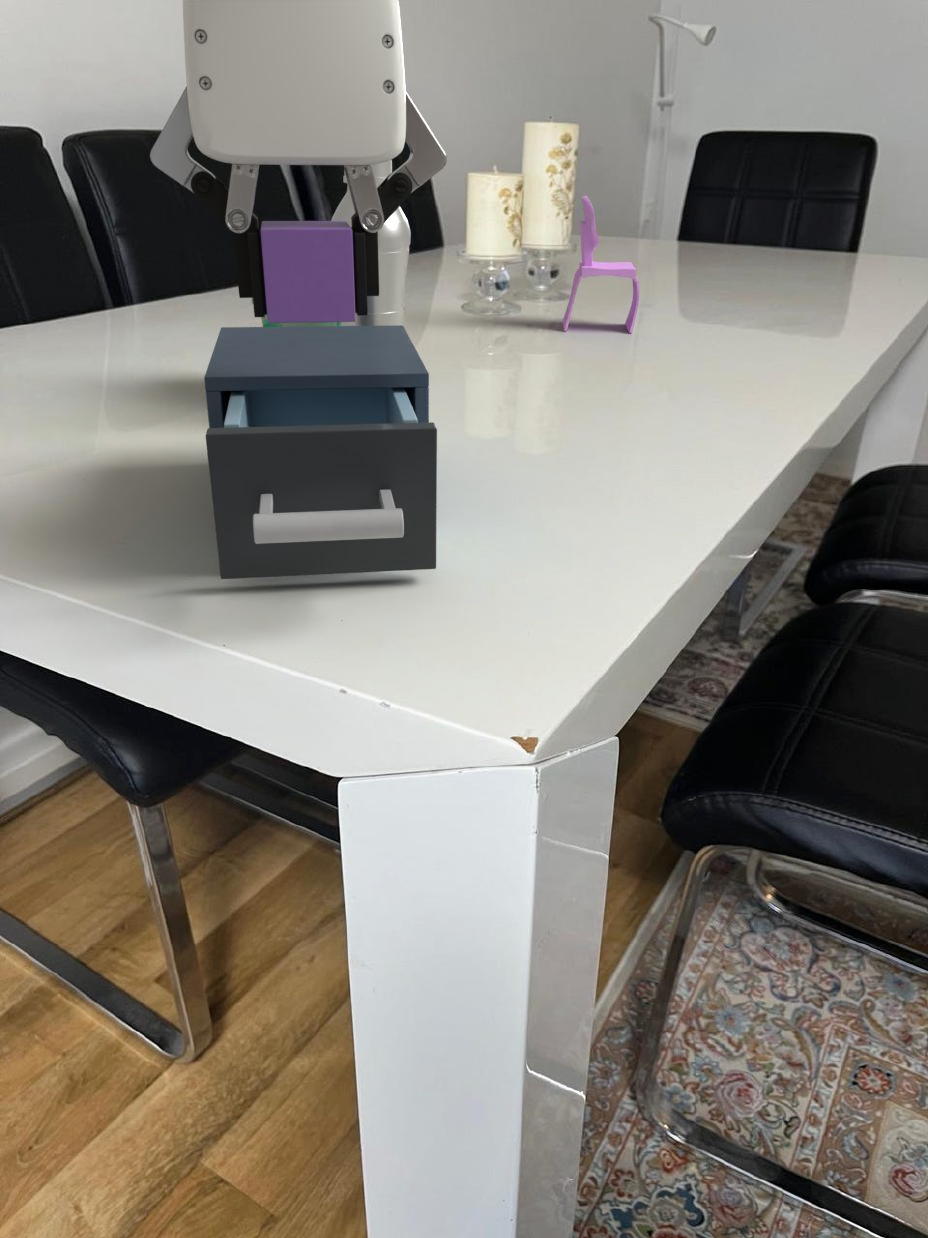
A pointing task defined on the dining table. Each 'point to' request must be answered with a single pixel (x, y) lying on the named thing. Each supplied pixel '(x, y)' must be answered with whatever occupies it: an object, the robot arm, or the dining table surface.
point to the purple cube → (308, 271)
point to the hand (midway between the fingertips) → (310, 308)
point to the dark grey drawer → (323, 483)
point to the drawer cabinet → (314, 363)
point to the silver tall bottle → (383, 260)
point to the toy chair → (599, 266)
